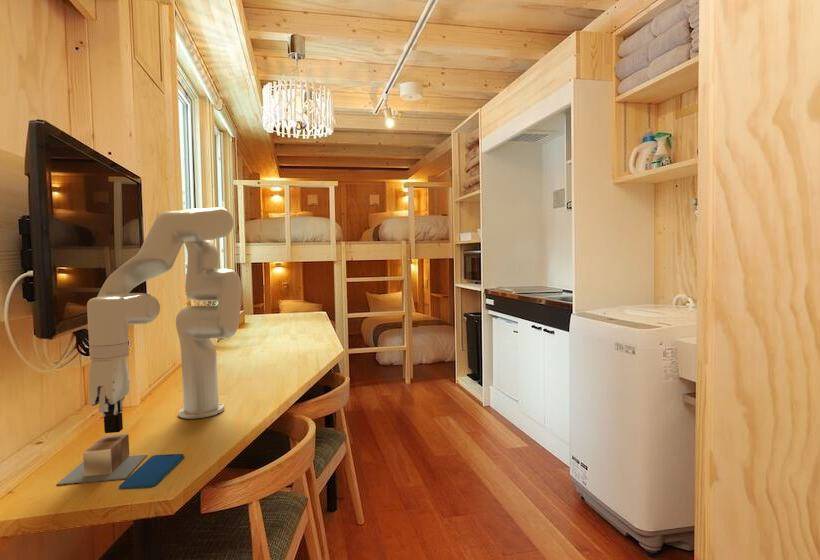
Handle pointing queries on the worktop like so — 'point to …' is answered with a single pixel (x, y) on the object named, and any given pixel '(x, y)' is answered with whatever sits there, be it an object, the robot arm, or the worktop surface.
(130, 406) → the worktop surface
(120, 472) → the mat
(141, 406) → the worktop surface
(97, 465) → the walnut block
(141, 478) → the smartphone
